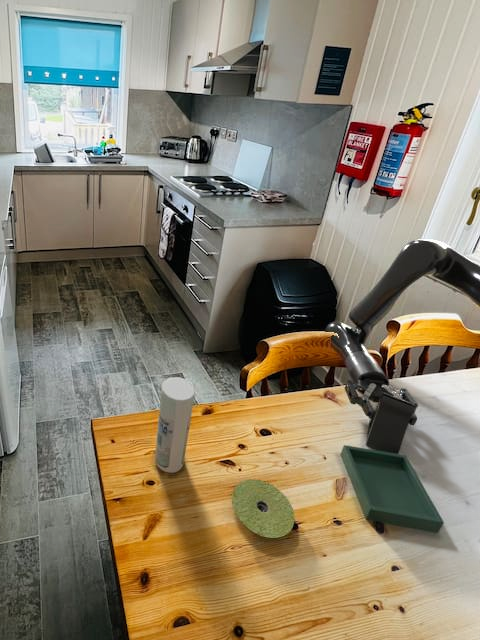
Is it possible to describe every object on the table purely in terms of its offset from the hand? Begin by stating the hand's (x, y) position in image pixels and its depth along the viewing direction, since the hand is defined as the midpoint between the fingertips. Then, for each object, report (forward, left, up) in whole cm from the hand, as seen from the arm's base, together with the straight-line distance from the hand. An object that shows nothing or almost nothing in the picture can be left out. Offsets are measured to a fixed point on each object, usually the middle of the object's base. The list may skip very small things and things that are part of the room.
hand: (393, 419), depth 89 cm
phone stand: (0, -1, -7) cm, 7 cm away
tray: (+5, +13, -7) cm, 16 cm away
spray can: (+49, +15, -7) cm, 52 cm away
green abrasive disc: (+31, +23, -7) cm, 39 cm away
